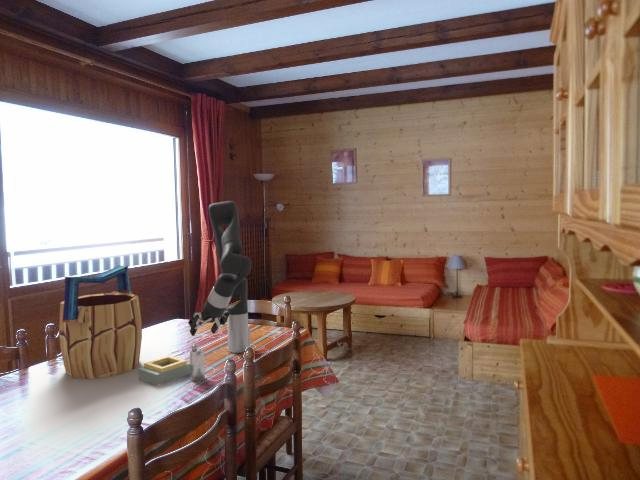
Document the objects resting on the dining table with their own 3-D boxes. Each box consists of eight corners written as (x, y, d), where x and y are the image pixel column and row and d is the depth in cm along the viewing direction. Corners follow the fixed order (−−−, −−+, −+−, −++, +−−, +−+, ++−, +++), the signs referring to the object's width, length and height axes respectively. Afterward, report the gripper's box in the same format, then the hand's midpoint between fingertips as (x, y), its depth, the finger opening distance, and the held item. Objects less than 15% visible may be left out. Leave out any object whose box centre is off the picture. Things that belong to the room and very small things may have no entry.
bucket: (97, 352, 213) (93, 265, 211) (161, 354, 209) (157, 265, 206) (33, 383, 175) (27, 277, 172) (109, 387, 170) (104, 278, 168)
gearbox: (182, 364, 194) (181, 351, 194) (200, 370, 187) (200, 356, 187) (138, 378, 178) (137, 364, 178) (157, 385, 171) (156, 370, 171)
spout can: (199, 375, 181) (198, 341, 180) (207, 378, 178) (206, 343, 177) (188, 379, 177) (186, 344, 176) (196, 382, 174) (195, 347, 173)
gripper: (230, 292, 174) (214, 324, 180) (196, 294, 164) (180, 327, 170) (239, 306, 169) (223, 338, 176) (204, 308, 159) (188, 342, 166)
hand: (202, 333), depth 173 cm, fingers open, 8 cm apart
